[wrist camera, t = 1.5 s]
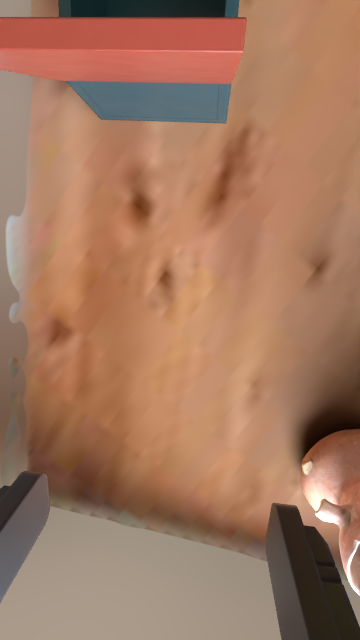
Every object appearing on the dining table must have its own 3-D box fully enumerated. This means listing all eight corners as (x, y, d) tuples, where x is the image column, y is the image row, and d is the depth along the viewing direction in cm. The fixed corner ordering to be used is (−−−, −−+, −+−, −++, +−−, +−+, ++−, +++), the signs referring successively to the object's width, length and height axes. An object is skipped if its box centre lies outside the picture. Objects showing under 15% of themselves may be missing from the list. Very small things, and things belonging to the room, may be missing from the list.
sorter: (98, -50, 29) (50, -174, 20) (242, -53, 27) (256, -186, 19) (101, 119, 33) (61, 76, 24) (226, 123, 31) (231, 79, 23)
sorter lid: (-129, 16, 11) (-115, 49, 11) (247, 16, 10) (243, 52, 10) (57, 66, 23) (59, 80, 24) (233, 68, 22) (231, 84, 23)
